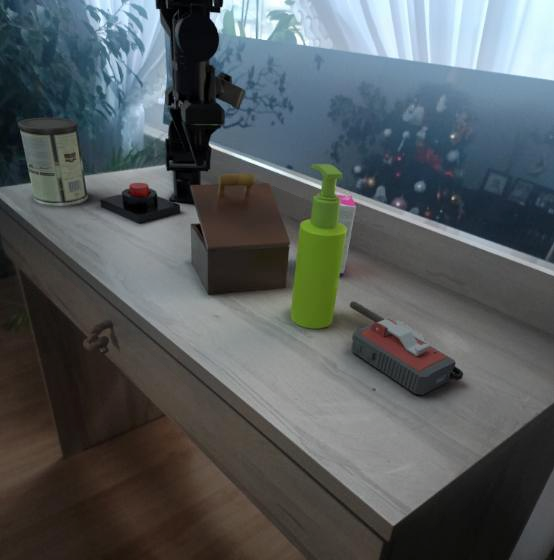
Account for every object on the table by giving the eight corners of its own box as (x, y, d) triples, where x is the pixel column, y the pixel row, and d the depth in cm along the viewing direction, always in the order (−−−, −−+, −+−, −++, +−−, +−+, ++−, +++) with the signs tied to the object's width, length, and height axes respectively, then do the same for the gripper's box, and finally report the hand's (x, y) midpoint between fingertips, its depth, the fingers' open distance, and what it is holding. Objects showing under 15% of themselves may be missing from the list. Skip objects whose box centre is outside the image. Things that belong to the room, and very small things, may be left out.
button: (141, 190, 102) (140, 181, 101) (152, 195, 100) (152, 186, 99) (126, 193, 99) (125, 184, 98) (137, 198, 98) (137, 189, 97)
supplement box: (344, 276, 83) (356, 206, 77) (308, 273, 83) (317, 203, 77) (341, 262, 88) (352, 194, 82) (307, 259, 88) (315, 191, 81)
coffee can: (48, 188, 108) (35, 114, 100) (96, 193, 108) (86, 120, 99) (23, 203, 100) (6, 124, 91) (74, 209, 99) (62, 130, 91)
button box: (142, 197, 108) (140, 180, 106) (180, 213, 102) (179, 195, 100) (100, 207, 101) (98, 189, 99) (139, 224, 95) (137, 205, 93)
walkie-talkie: (471, 379, 62) (354, 309, 74) (482, 349, 60) (359, 282, 72) (425, 404, 57) (309, 325, 70) (435, 372, 55) (313, 296, 67)
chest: (191, 263, 83) (190, 223, 79) (262, 258, 87) (265, 219, 83) (207, 295, 75) (207, 252, 71) (285, 287, 79) (289, 246, 75)
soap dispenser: (320, 302, 75) (340, 160, 64) (339, 326, 70) (364, 175, 59) (282, 306, 74) (295, 160, 62) (299, 330, 68) (317, 176, 57)
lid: (190, 188, 76) (192, 166, 72) (267, 186, 80) (273, 164, 76) (207, 251, 71) (210, 230, 67) (289, 245, 75) (296, 225, 71)
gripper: (258, 64, 77) (253, 172, 86) (225, 52, 91) (224, 146, 100) (184, 60, 73) (187, 174, 82) (162, 48, 87) (166, 146, 96)
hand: (193, 158), depth 90 cm, fingers open, 9 cm apart
